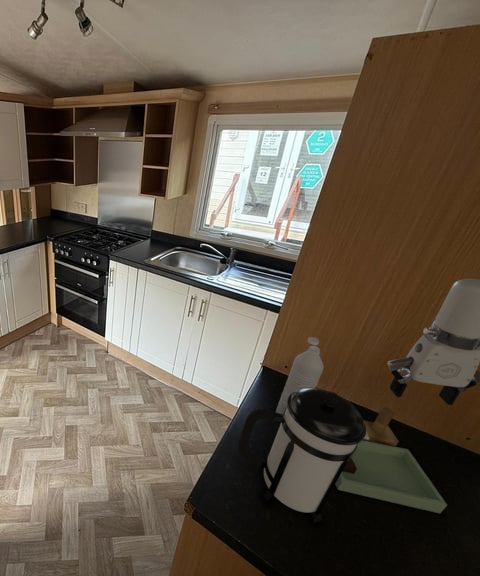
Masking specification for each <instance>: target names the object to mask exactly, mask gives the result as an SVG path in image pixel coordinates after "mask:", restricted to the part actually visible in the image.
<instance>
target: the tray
mask: <svg viewBox="0 0 480 576" xmlns="http://www.w3.org/2000/svg"><path fill="white" fill-rule="evenodd" d="M351 458H352V460H353V462H354V464H355V466H356V468H357V470H356V471H355V473H354V474H352V473H347V472H343V471H342V473H341V475H340V476H339V478H338V480H337V482H336V483H335V485H334V486H335V487H336V489H337V490H338V491H342V492H345V493H351V494H354V495H359V496H363V497H366V498H367V497H368V498H371V499H376V500H380V501H384V502H389V503H393V504H398V505H402V506H406V507H409V508H414V509H419V510H424V511H427V512H432V513H437V514H442V512H443V511H444V510H445V509H446V507H448V504H447V503H446V501H445V500H444V498H443V497H442V495H441V494H440V492H439V491H438V490H437V488H436V487H435V485H434V484H433V482H432V481H431V480H430V478H429V477H428V476H427V474H426V473H425V471H424V470H423V468H422V467H421V465H420V464H419V463H418V461H417V460H416V458H415V457H414V455H413V454H412V453H411V451H410V450H409V449H408V448H403V447H399V446H396V447H393V446H388V445H383V444H378V443H373V442H368V441H363V440H362V441H361V442H360V443H358V444H357V449H356V450H355V452H354V454H353V455H352V457H351Z"/></svg>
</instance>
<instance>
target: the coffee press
mask: <svg viewBox="0 0 480 576" xmlns="http://www.w3.org/2000/svg"><path fill="white" fill-rule="evenodd" d="M283 416H284V417H283ZM260 420H270V421H276V422H279V423H280V424H279V427H278V430H277V433H276V436H275V438H274V440H273V443H272V446H271V449H270V451H269V452H268V454H267V456H266V457H262V456H260V455H257V454H255V453H253V452H251V450H250V449H249V447H248V444H249V442H250V438H251V436H252V432H253V430H254V427H255V424H256V423H257V422H258V421H260ZM363 421H364V419H363V417H362V415H361V413H360V411H359V410H358V409H357V408H356V407H355V406H354V405H353V404H352V403H351V402H350V401H348V400H347V399H346V398H344V397H343V396H342V395H341V396H340V395H339V394H337V393H335V392H333V391H330V390H327V389H325V388H318V387H316V388H303V389H300V390H298V391H295V392H293V393H292V394H290V396H289V397H288V400H287V408H286V409H285V410H284V413H283V414H279V413H276V411H274V410H271V409H265V408H260V409H256V410H253V411H251V412H250V413H249V414H248V415H247V417H246V419H245V421H244V424H243V427H242V430H241V433H240V437H239V443H238V449H239V452H240V454H241V455H242V456H243V457H244V459H246V460H247V461H250V462H252V463H254V464H256V465H258V466H261V468H263V479H264V482H265V484H266V486H267V488H268V490H267V491H265V492H264V493H263V495H262V499H263V500H264V501H265V502H266V504H270V503H271V502H273V501H274V500H275V499H277V500H278V501H279V502H280V503H282V504H283V505H284V506H287V507H288V508H290V509H292V510H294V511H297V512H301V513H309V516H310V517H311V518H310V519H311V520H312V522H313V523H314V524H315V525H319V524H322V523H323V522H324V518H323V515H322V509H323V507H324V505H325V503H326V502H327V500H328V498H329V496H330V494H331V492H332V491H333V489H334V487H335V486H336V485H335V483H336V482H337V480H338V478H339V476H340V475H341V473H342V471H343V469H344V467H345V466H346V464H347V461H348V460H349V459H350V458H351V457H352V455H353V454H354V452H355V450H356V449H357V444H358V443H360V442H361V441H362V440H363V439H367V440H369V439H370V438H369V436H368V434H367V432H366V427H365V424H364V422H363Z"/></svg>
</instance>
